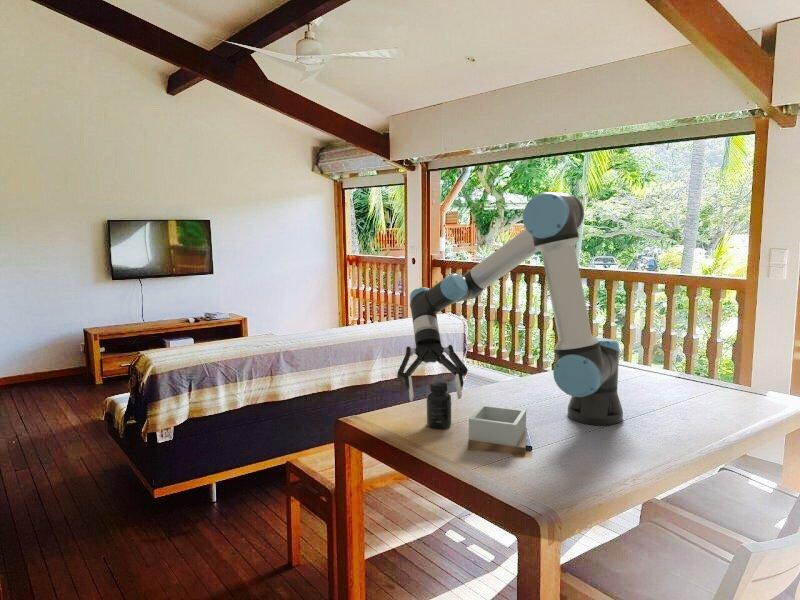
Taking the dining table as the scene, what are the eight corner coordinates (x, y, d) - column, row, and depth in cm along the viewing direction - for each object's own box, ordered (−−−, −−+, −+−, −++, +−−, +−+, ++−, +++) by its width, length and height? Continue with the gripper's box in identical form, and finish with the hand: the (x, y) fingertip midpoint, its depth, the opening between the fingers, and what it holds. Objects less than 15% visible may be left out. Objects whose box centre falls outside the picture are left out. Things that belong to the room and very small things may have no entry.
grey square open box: (525, 430, 157) (526, 410, 156) (515, 446, 146) (516, 425, 145) (481, 424, 162) (481, 404, 161) (468, 439, 151) (468, 418, 150)
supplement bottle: (427, 420, 170) (427, 380, 168) (451, 421, 169) (451, 380, 167) (425, 429, 163) (425, 387, 161) (450, 430, 162) (450, 387, 160)
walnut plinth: (526, 436, 159) (527, 427, 159) (525, 457, 146) (525, 447, 145) (474, 432, 162) (474, 423, 162) (468, 452, 149) (468, 443, 149)
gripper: (465, 339, 183) (477, 401, 170) (384, 342, 180) (390, 406, 167) (469, 325, 177) (482, 389, 164) (386, 328, 174) (392, 393, 161)
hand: (436, 398), depth 166 cm, fingers open, 13 cm apart
